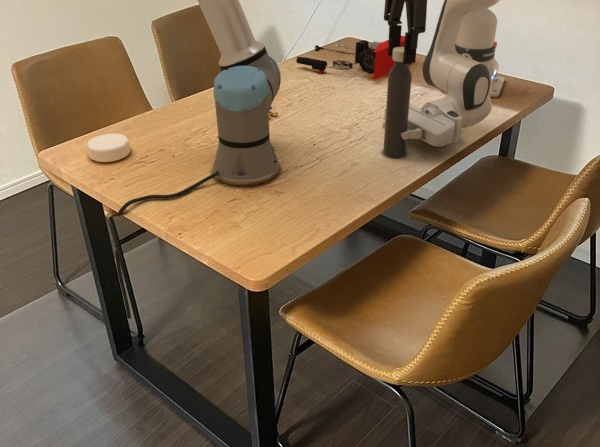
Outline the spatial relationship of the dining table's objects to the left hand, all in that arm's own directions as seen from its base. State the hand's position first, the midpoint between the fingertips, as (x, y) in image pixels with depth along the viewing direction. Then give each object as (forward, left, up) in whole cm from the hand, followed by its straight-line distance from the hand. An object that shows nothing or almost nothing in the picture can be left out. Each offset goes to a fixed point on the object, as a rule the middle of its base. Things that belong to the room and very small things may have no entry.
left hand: (401, 58), depth 140 cm
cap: (0, 0, +2) cm, 2 cm away
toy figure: (-9, +44, -24) cm, 50 cm away
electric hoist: (+40, +55, -24) cm, 72 cm away
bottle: (0, 0, -24) cm, 24 cm away
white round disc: (-53, +47, -24) cm, 74 cm away
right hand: (-1, 0, -17) cm, 18 cm away
